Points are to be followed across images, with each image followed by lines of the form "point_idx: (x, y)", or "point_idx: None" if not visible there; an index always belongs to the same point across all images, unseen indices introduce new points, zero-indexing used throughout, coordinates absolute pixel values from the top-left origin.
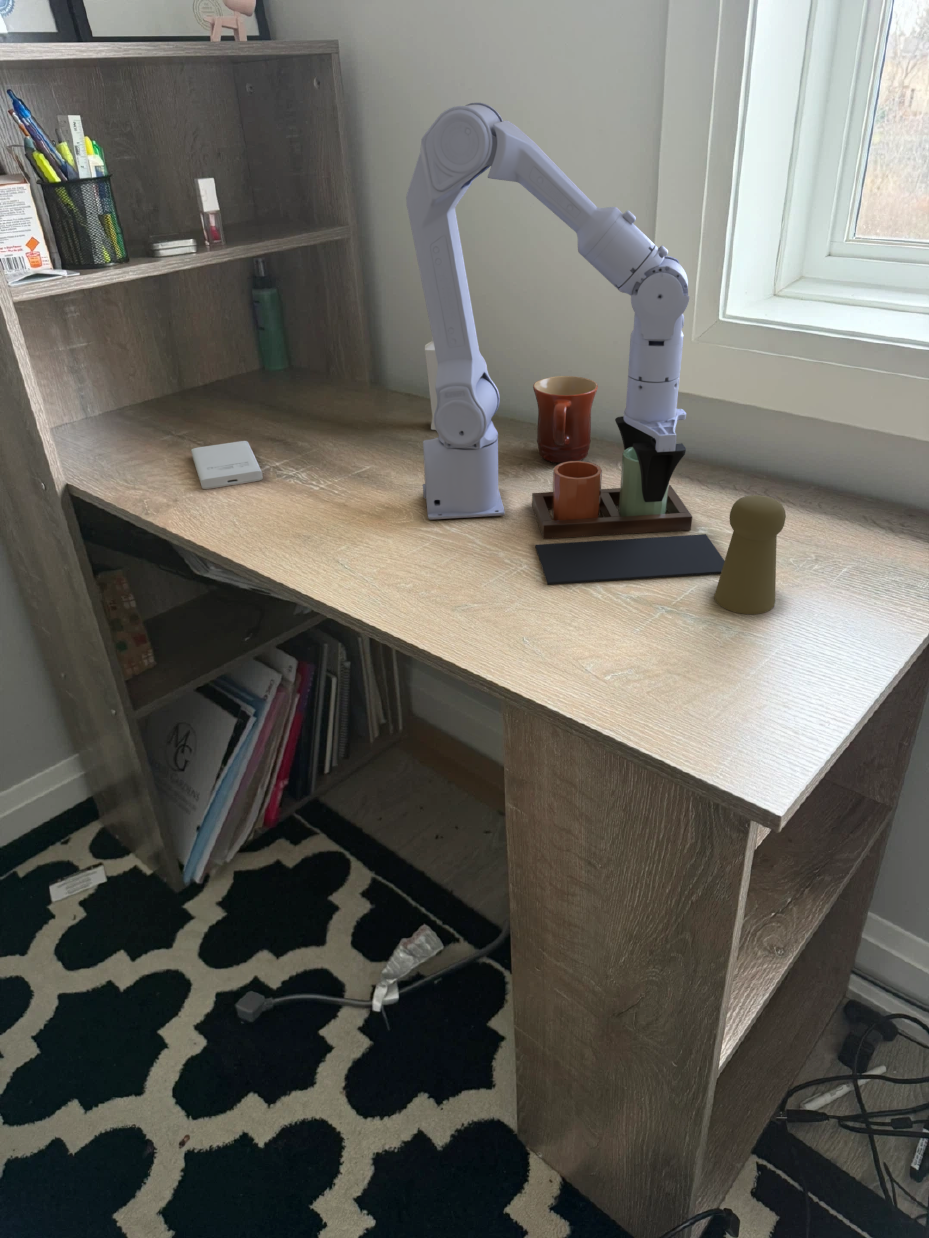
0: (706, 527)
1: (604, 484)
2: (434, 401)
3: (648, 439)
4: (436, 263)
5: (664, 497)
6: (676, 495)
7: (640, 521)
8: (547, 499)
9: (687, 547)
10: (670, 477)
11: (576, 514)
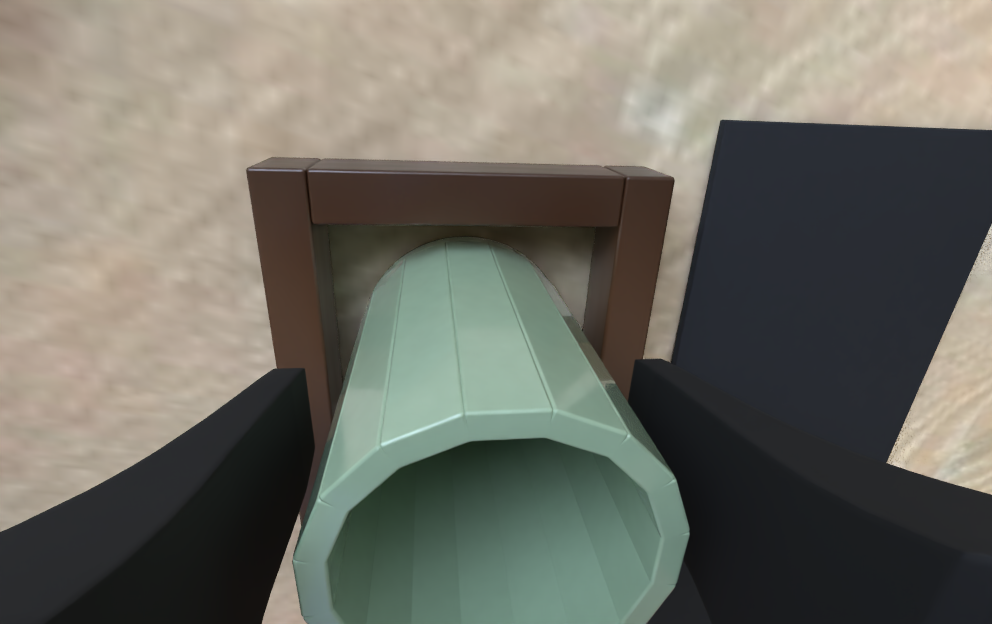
0: (635, 79)
1: (99, 414)
2: None
3: (195, 560)
4: None
5: (564, 311)
6: (408, 180)
7: None
8: None
9: (802, 240)
10: (782, 423)
11: None
